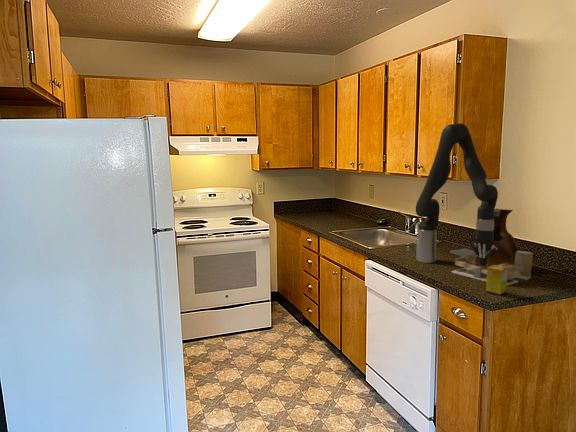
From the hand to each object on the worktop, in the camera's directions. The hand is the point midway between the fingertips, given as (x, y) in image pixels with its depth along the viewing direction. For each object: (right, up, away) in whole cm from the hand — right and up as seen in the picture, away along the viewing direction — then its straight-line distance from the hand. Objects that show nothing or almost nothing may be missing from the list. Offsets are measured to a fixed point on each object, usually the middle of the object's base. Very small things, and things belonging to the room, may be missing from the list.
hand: (483, 265), depth 200 cm
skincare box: (+17, -6, -2) cm, 18 cm away
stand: (0, -6, 0) cm, 6 cm away
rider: (-3, 0, +5) cm, 6 cm away
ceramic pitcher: (+15, -3, +17) cm, 22 cm away
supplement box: (-4, -9, -21) cm, 24 cm away
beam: (0, -3, 0) cm, 3 cm away
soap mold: (+11, 0, +41) cm, 43 cm away
